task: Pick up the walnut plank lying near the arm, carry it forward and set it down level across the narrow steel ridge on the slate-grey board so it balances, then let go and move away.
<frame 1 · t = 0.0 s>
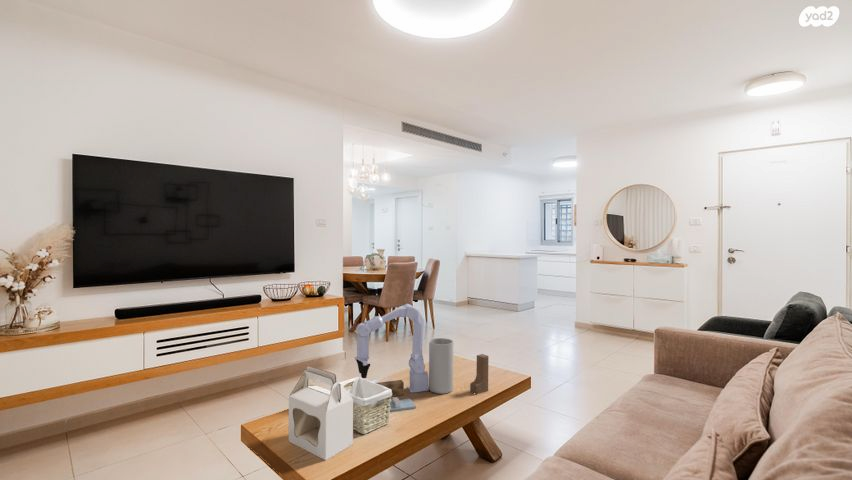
hand: (362, 375, 192), 10 cm above the table, tool pointing down, fingers open, 7 cm apart
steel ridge: (396, 402, 180), on the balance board, point 1 cm above the table
walnut plank: (389, 394, 195), on the table
cylinder vase: (440, 389, 201), on the table
wooden block: (479, 391, 199), on the table
storage basket: (360, 421, 166), on the table
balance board: (396, 406, 180), on the table
gable box: (320, 443, 148), on the table
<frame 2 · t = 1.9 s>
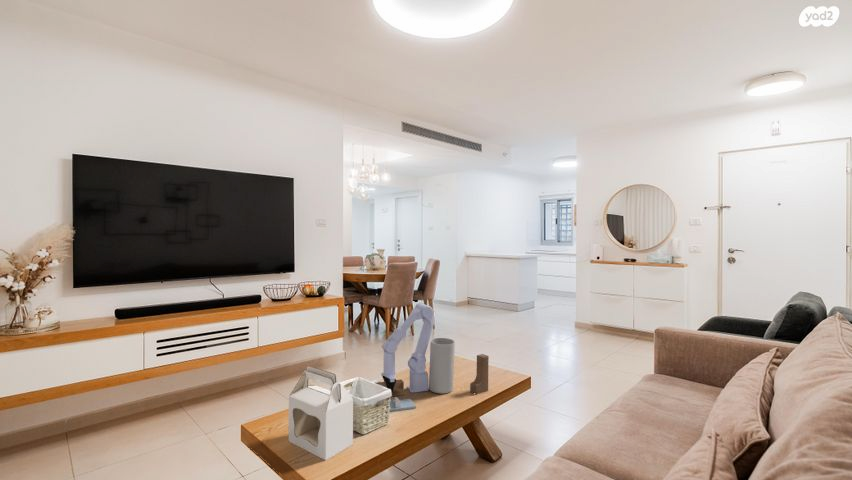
hand: (389, 391, 195), 1 cm above the table, tool pointing down, fingers closed on walnut plank, 4 cm apart
walnut plank: (389, 394, 195), on the table, touching gripper
cylinder vase: (440, 389, 201), on the table, touching arm
everything else where it was.
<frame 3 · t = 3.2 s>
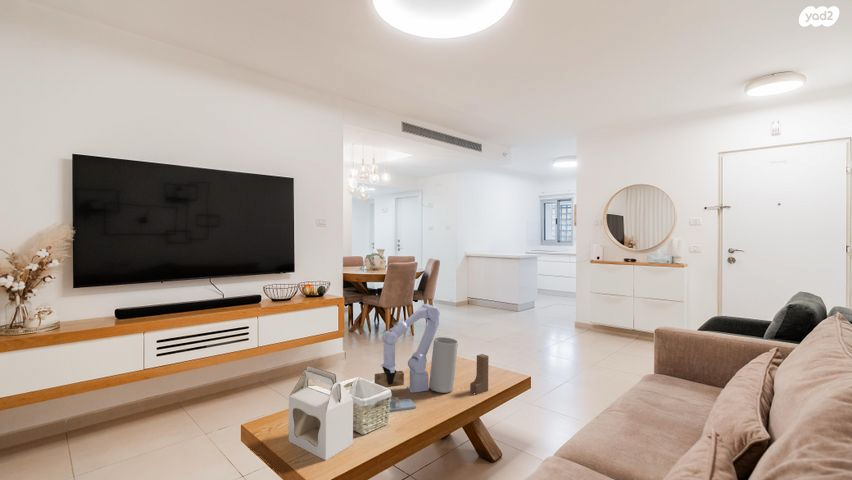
hand: (389, 382, 195), 6 cm above the table, tool pointing down, fingers closed on walnut plank, 4 cm apart
walnut plank: (389, 385, 195), point 4 cm above the table, touching gripper
cylinder vase: (440, 388, 201), on the table
everything else where it was.
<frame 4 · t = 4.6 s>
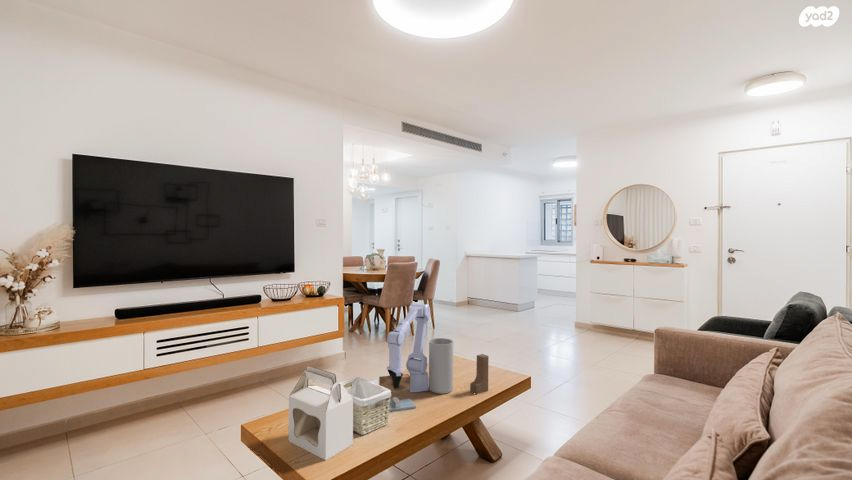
hand: (394, 386, 183), 8 cm above the table, tool pointing down, fingers closed on walnut plank, 4 cm apart
walnut plank: (394, 389, 183), point 7 cm above the table, touching gripper
when the fingers open (5 cm above the table, at t = 6.0 s): walnut plank stays where it is, resting on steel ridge.
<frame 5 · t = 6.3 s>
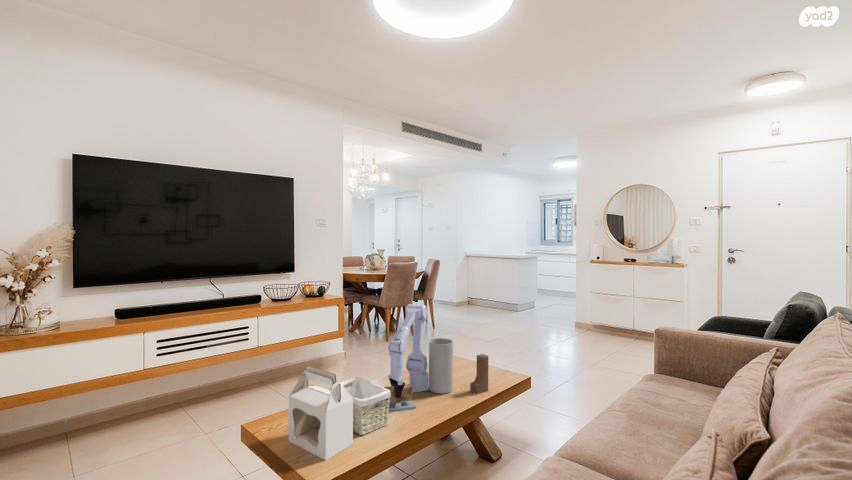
hand: (396, 395, 180), 5 cm above the table, tool pointing down, fingers open, 6 cm apart
walnut plank: (396, 400, 180), point 3 cm above the table, touching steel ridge
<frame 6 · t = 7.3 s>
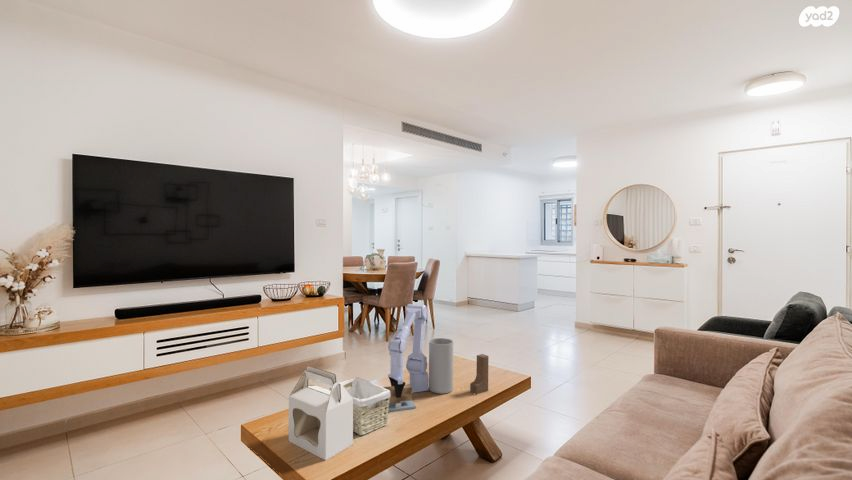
hand: (396, 394, 180), 6 cm above the table, tool pointing down, fingers open, 7 cm apart
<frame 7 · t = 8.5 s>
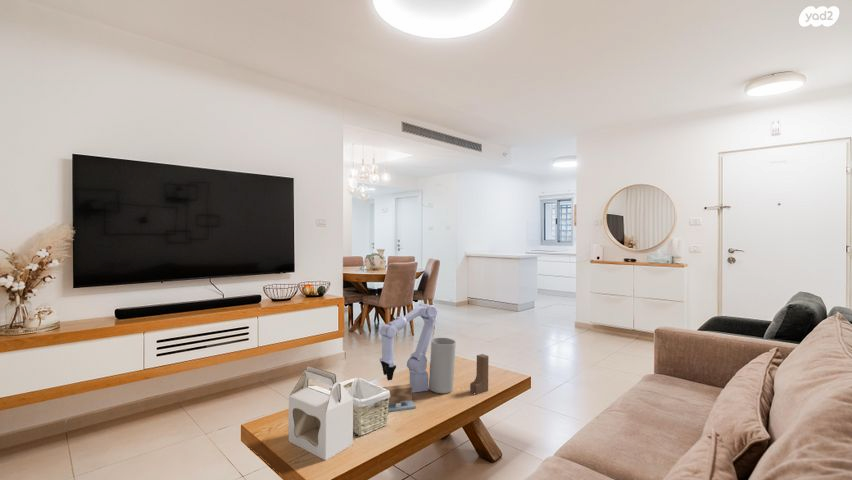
hand: (387, 377, 190), 10 cm above the table, tool pointing down, fingers open, 7 cm apart
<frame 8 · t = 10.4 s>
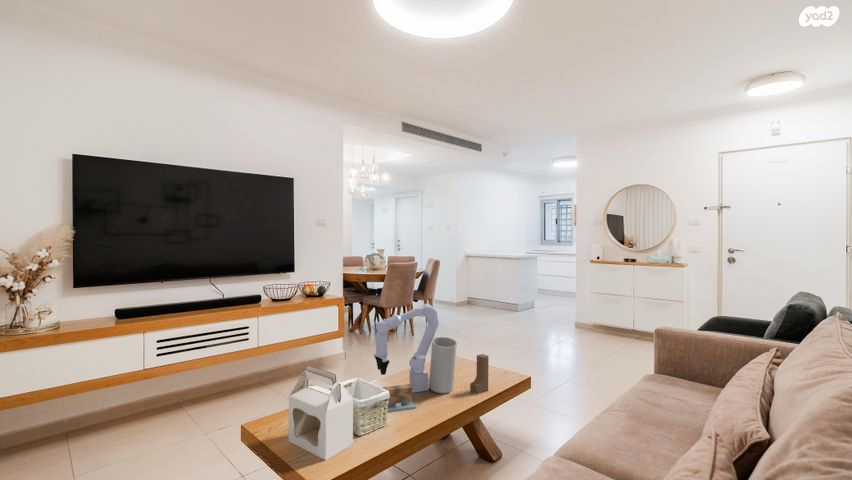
hand: (381, 371, 197), 10 cm above the table, tool pointing down, fingers open, 7 cm apart
cylinder vase: (440, 388, 201), point 1 cm above the table, touching arm
at the end: walnut plank 0.1 cm off-centre on the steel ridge, point 3.0 cm above the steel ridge's base; walnut plank tilted 0°; the gripper is holding nothing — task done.
